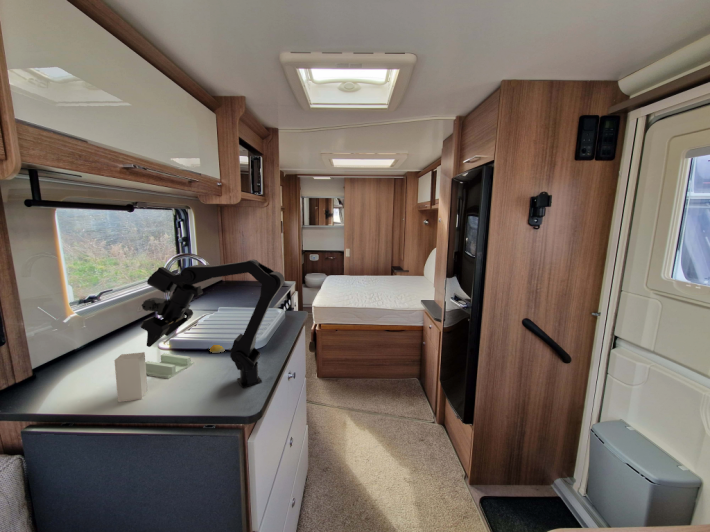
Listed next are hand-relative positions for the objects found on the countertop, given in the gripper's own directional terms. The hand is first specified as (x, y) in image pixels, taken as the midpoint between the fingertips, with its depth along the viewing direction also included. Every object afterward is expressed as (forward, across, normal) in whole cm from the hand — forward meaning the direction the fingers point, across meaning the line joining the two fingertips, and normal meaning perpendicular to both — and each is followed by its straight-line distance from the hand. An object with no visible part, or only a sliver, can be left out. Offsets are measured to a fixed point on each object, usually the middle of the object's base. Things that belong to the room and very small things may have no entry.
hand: (157, 340), depth 91 cm
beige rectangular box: (+14, +8, +4) cm, 17 cm away
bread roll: (+9, -27, +14) cm, 32 cm away
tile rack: (+14, -10, +5) cm, 18 cm away
